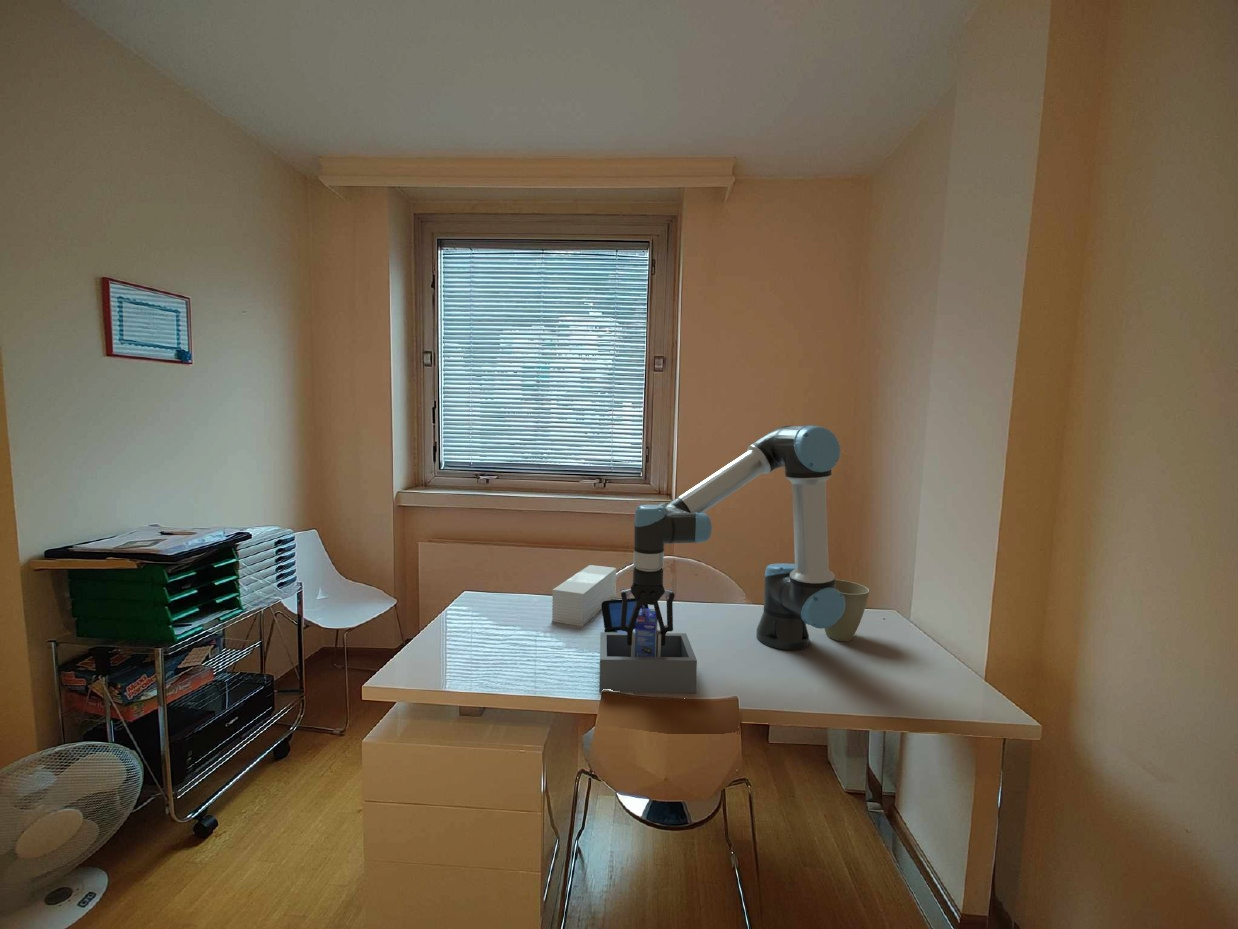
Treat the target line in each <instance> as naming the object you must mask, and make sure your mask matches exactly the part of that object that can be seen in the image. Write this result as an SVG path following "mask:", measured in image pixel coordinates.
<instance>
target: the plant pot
mask: <svg viewBox="0 0 1238 929" xmlns="http://www.w3.org/2000/svg"><path fill="white" fill-rule="evenodd" d="M835 585H836V589H837V590H839V591H840V592H841V594H842V595H843V596H844V599H845V610H844V613H843V615H842V617H841V618H840V619H838V621H837V623H835V624H834V625H832V626H831V627H828V628H823V629H824V631H825V634H826V636H827V637H828V638H830V639H832V640H835V641H838V642H850V641H851V640H853V638H854V636H855V634H856V632H857V630H858V628H859V626H860V624H861V621H862V618H863V616H864V613H865V610H866V607H867V602H868V599H869V594H870V589H869V588H868V587H867V586H865V585H862V584H860V583H857V582H853V581H848V580H842V579H835Z"/></svg>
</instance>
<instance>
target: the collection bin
mask: <svg viewBox="0 0 1238 929" xmlns="http://www.w3.org/2000/svg"><path fill="white" fill-rule="evenodd" d="M599 638H600V644H599V646H600V648H599V683H598V684H599V686H598V688H599V689H598V691H599V693H602V692H601V691H602V690H603V689H611V690H613V691H620V692H619V693H637V694H638V693H640V694H641V693H643V694H644V693H647V694H648V693H651V694H652V693H654V694H655V693H659V694H661V693H662V694H664V693H665V694H696V693H697V672H698V671H697V669H698V667H697V665H698V659H697V658H696V655H695V652H694V650H693V648H692V644H691V642H690V640H689V637H688V635H687V633H683V632H679V633H678V632H676V633H675V632H674V633H673V632H667V633H666V634H665V645H664V646H661V657H657V656H656V657H631V645H628V644H627V633H617V632H603V631H602V632H600V637H599Z"/></svg>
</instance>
